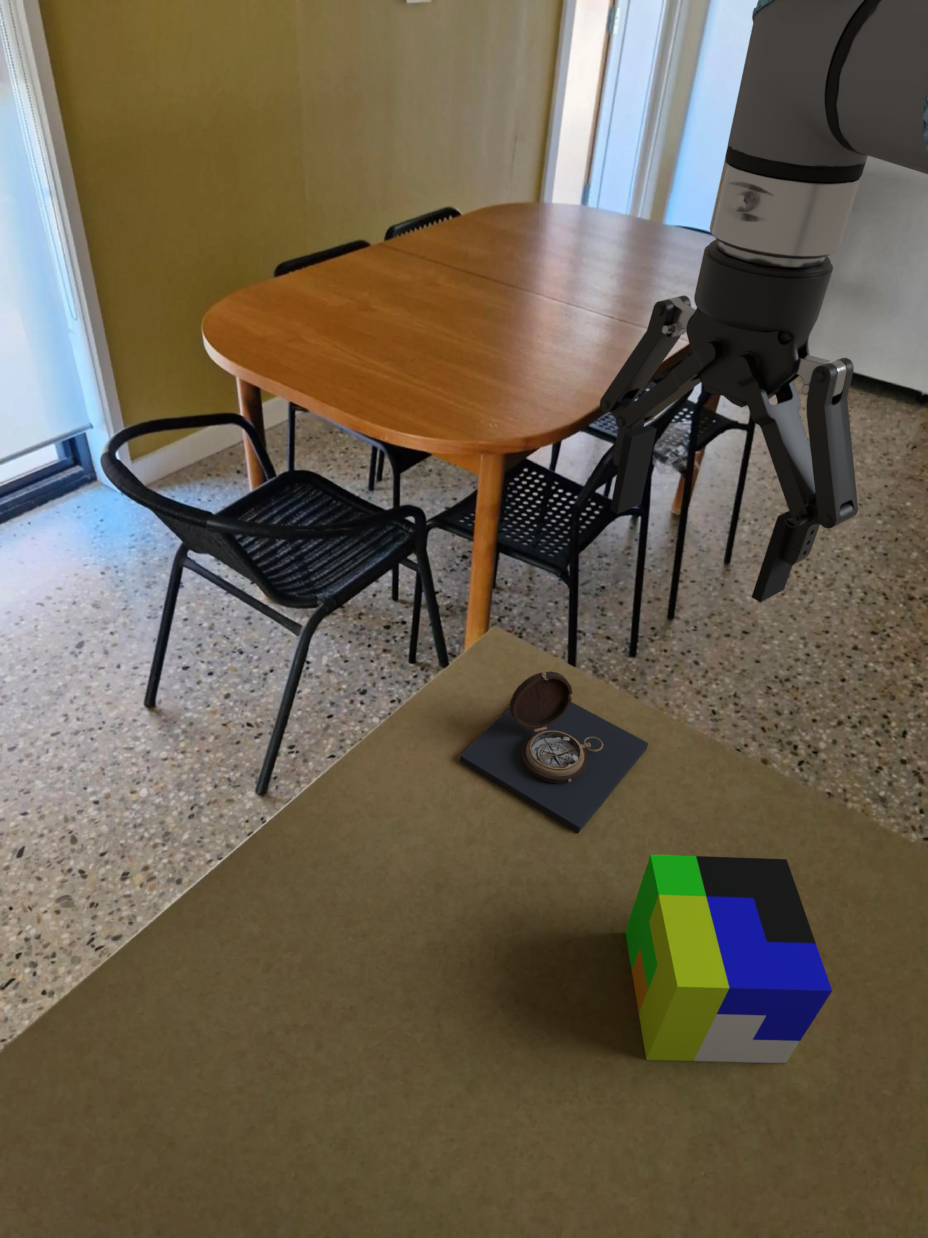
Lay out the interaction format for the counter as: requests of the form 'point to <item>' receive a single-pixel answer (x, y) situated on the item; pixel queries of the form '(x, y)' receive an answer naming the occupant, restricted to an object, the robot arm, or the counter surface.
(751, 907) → the puzzle toy
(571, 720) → the mat
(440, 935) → the counter surface
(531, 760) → the compass
